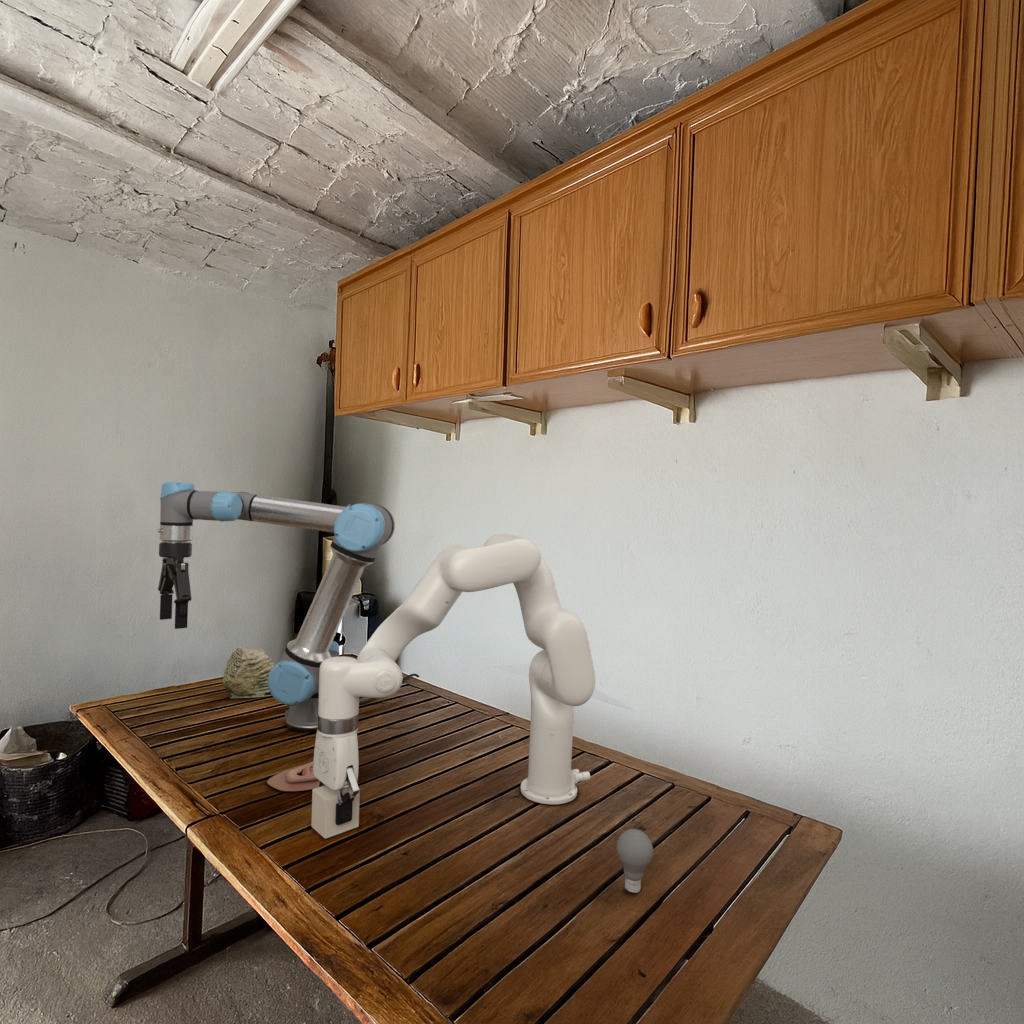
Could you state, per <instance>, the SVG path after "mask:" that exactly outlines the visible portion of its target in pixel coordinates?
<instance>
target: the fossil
mask: <svg viewBox="0 0 1024 1024" xmlns="http://www.w3.org/2000/svg"><path fill="white" fill-rule="evenodd" d="M275 665H276V663H275V662H274V660H273V659H272V658H271V657H270V656H269V655H268V654H267V653H266V652H265V650H264V649H263V648H260V647H258V648H251V647H247V646H246V647H245V646H238V647H237V648H236V649H235V650H233V651H232V653H231V656H230V657H229V659H228V660H227V663H226V666H225V668H224V671H223V675H222V676H223V677H222V685H223V687H224V688H225V690H226V691H228V693H229V698H230V699H250V698H264V697H271V696H272V695H271V692H270V690H269V688H268V676H269V673H270V671H271V670H272V668H273V667H274V666H275ZM272 697H273V696H272Z"/></svg>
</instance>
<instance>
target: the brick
mask: <svg viewBox="0 0 1024 1024" xmlns="http://www.w3.org/2000/svg"><path fill="white" fill-rule="evenodd" d="M346 784H347V781H346V782H344V785H346ZM311 790H312V791H311V793H312V795H311V797H312V798H311V823H310V825H311V826H310V827H311V828H312V829H313V830H315V832H317V833H318V835H320V836H321V837H322V838H323V839H324V840H325V839H328V838H329V839H330V838H331V837H334V836H337V835H341V834H343V833H345V832H348V831H350V830H351V831H352V830H354V829H356V828H359V826H360V825H359V824H360V798H361V797H360V795H361V794H360V793H361V789H360V788H359V793H358V794H357V795H356V796H355V798H354V801H353V804H352V820H351V821H349V822H346V823H344V824H341V825H336V824H335V817H336V804H337V803H338V798H337V791H334V790H332V789H330V788H329V787H328V786H326V785H325V786H322V787H319V788H315V789H311ZM347 792H348V790H347V788H346V789H343V790H342V794H343V795H344V794H345V793H347Z"/></svg>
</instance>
